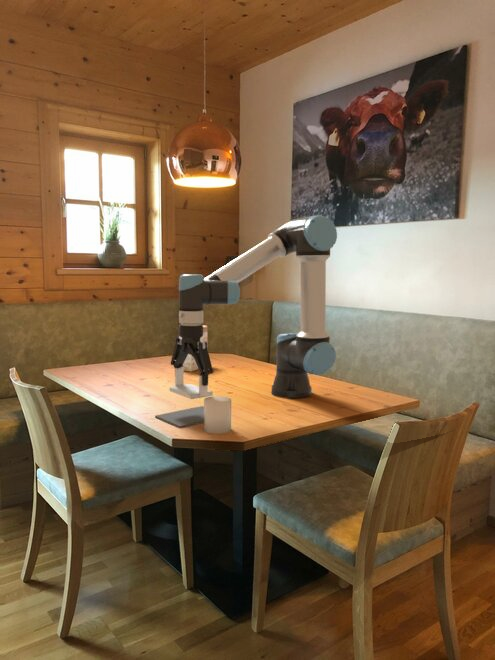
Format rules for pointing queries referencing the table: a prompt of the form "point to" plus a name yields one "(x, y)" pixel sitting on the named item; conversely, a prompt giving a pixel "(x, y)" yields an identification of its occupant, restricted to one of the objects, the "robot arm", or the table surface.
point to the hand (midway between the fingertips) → (190, 391)
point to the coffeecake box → (190, 361)
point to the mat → (184, 417)
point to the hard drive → (188, 391)
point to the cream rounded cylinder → (217, 414)
